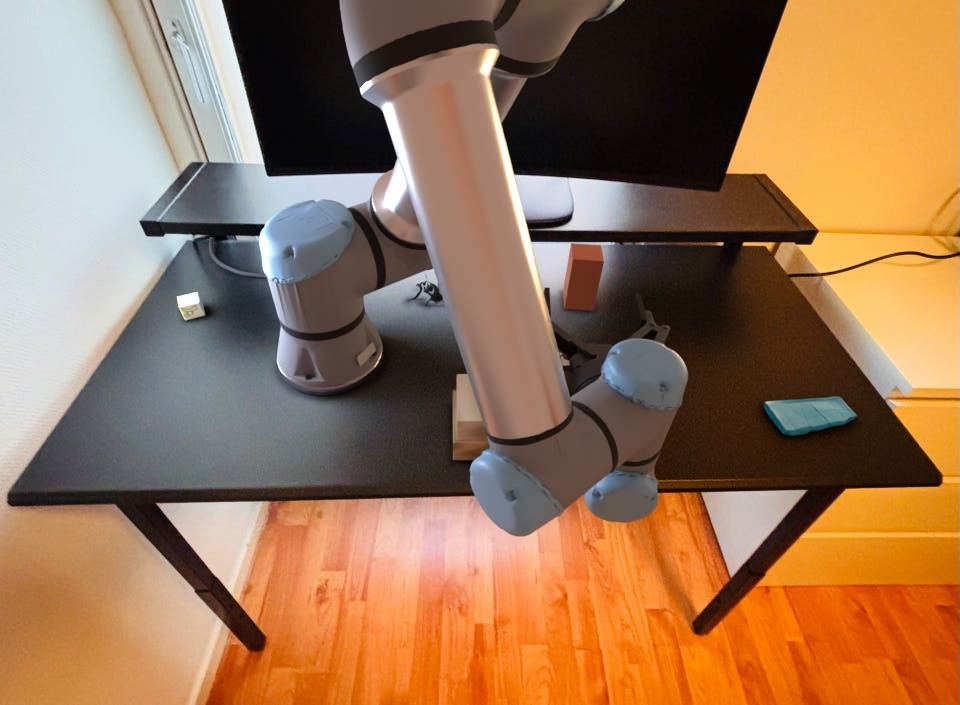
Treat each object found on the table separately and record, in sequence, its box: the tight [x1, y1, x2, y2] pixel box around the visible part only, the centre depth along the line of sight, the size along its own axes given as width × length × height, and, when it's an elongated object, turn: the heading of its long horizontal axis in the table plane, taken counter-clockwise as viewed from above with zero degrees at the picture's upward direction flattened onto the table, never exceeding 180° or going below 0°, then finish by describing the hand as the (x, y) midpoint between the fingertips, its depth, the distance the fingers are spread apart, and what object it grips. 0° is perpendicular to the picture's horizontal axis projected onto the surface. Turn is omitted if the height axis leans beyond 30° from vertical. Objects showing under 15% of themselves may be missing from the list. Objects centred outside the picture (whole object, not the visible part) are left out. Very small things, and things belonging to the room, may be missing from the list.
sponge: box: [763, 396, 858, 437], centre depth 74 cm, size 2×12×6 cm
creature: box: [406, 271, 444, 307], centre depth 91 cm, size 8×5×8 cm
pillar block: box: [562, 242, 605, 312], centre depth 90 cm, size 5×5×10 cm
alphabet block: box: [176, 291, 206, 321], centre depth 86 cm, size 3×3×3 cm
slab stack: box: [452, 373, 490, 461], centre depth 69 cm, size 9×9×7 cm
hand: (590, 297), depth 81 cm, fingers open, 13 cm apart
